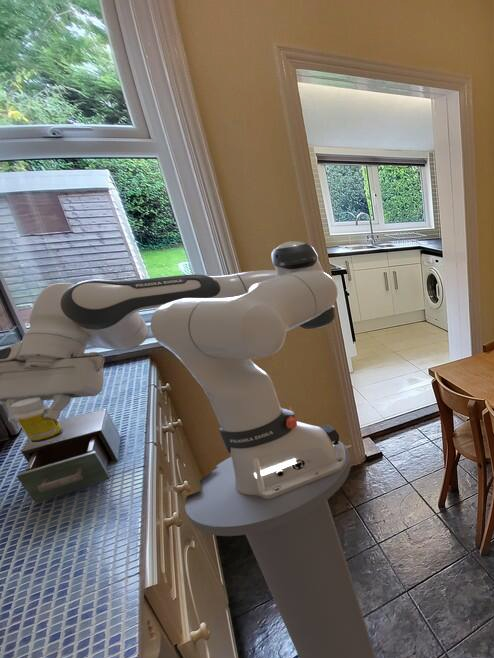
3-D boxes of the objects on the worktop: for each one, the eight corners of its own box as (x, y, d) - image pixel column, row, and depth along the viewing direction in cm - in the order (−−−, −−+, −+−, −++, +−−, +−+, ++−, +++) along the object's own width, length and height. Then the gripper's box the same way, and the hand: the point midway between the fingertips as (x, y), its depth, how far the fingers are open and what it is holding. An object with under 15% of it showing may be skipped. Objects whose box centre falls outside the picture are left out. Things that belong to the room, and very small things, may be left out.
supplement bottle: (69, 434, 83) (47, 398, 80) (38, 447, 79) (13, 409, 76) (58, 430, 85) (36, 394, 81) (27, 442, 81) (2, 405, 78)
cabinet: (118, 461, 97) (100, 429, 93) (42, 484, 90) (21, 451, 86) (121, 437, 107) (105, 408, 104) (54, 456, 100) (34, 426, 97)
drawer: (108, 488, 86) (92, 461, 83) (30, 514, 79) (10, 486, 77) (113, 453, 98) (100, 428, 96) (47, 473, 92) (30, 447, 89)
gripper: (118, 357, 88) (104, 419, 83) (15, 366, 86) (-5, 429, 82) (91, 344, 82) (74, 410, 77) (-20, 354, 81) (-44, 421, 76)
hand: (33, 420), depth 80 cm, fingers closed on supplement bottle, 5 cm apart
